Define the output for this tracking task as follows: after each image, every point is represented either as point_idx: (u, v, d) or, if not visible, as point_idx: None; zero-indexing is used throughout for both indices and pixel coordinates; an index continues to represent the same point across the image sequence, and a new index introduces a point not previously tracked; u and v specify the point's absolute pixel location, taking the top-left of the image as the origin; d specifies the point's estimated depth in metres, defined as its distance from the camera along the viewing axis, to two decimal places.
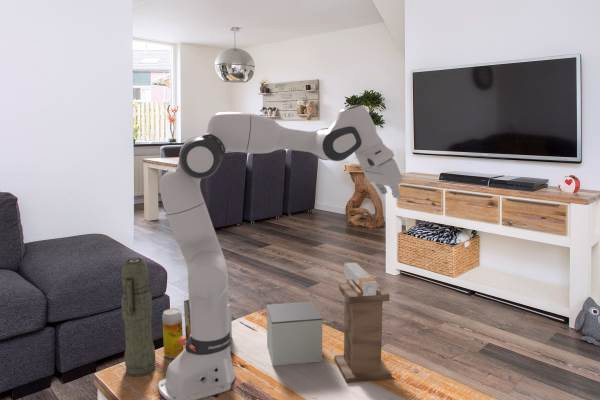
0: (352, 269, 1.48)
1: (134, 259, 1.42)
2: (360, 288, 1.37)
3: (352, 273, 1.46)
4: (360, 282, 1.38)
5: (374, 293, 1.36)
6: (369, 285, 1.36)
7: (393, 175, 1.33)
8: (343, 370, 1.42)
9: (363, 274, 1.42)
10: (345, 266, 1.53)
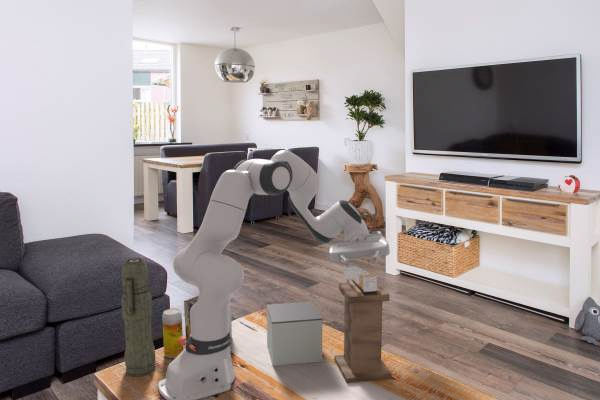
0: (352, 269, 1.48)
1: (134, 259, 1.42)
2: (361, 284, 1.38)
3: (352, 272, 1.46)
4: (360, 278, 1.38)
5: (375, 289, 1.36)
6: (369, 280, 1.36)
7: None
8: (343, 370, 1.42)
9: (363, 272, 1.43)
10: (344, 268, 1.54)
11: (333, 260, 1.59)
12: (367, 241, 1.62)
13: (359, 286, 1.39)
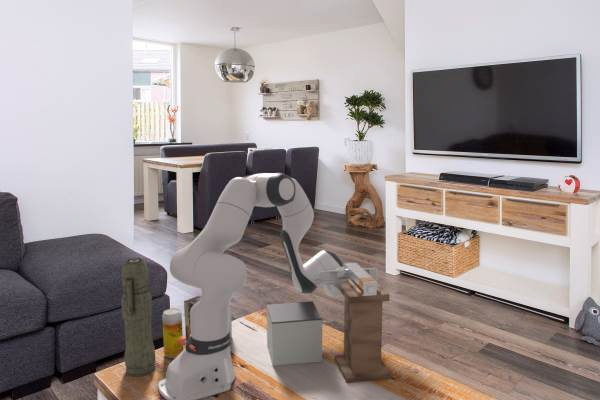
0: (352, 269, 1.48)
1: (134, 259, 1.42)
2: (361, 287, 1.37)
3: (352, 273, 1.46)
4: (360, 282, 1.38)
5: (374, 293, 1.36)
6: (369, 285, 1.36)
7: None
8: (343, 370, 1.42)
9: (364, 274, 1.42)
10: (345, 266, 1.53)
11: (324, 279, 1.53)
12: None
13: (359, 289, 1.39)
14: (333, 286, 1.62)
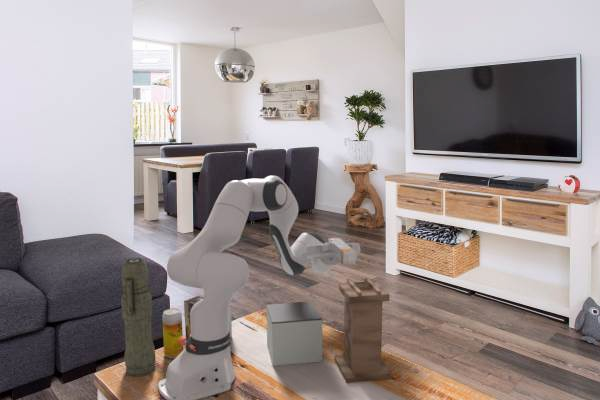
0: (335, 242, 1.62)
1: (134, 259, 1.42)
2: (342, 257, 1.51)
3: (335, 246, 1.60)
4: (341, 252, 1.52)
5: (354, 262, 1.50)
6: (349, 255, 1.50)
7: None
8: (343, 370, 1.42)
9: (345, 246, 1.56)
10: (329, 241, 1.67)
11: (309, 252, 1.67)
12: None
13: (340, 259, 1.53)
14: (319, 260, 1.76)
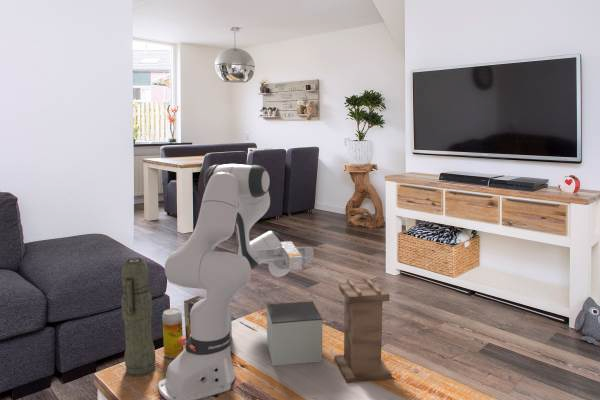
0: (285, 246, 1.59)
1: (134, 259, 1.42)
2: (288, 262, 1.48)
3: (284, 250, 1.57)
4: (288, 257, 1.49)
5: (300, 267, 1.47)
6: (295, 259, 1.47)
7: None
8: (343, 370, 1.42)
9: (293, 251, 1.53)
10: (280, 244, 1.64)
11: (261, 256, 1.64)
12: None
13: (287, 264, 1.50)
14: (273, 264, 1.73)
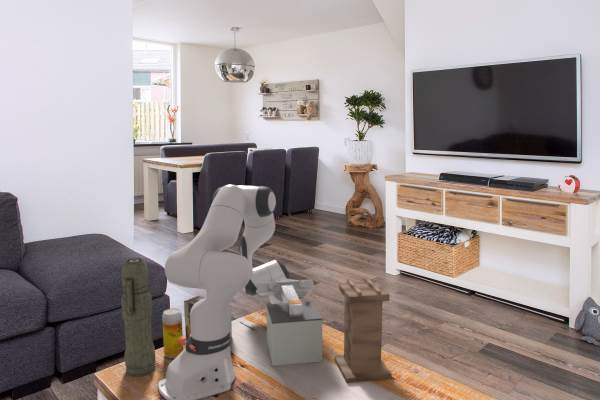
0: (285, 291, 1.62)
1: (134, 259, 1.42)
2: (288, 309, 1.51)
3: (284, 295, 1.59)
4: (288, 304, 1.51)
5: (300, 315, 1.50)
6: (295, 307, 1.49)
7: None
8: (343, 370, 1.42)
9: (293, 297, 1.56)
10: (281, 288, 1.67)
11: (261, 290, 1.66)
12: None
13: (287, 310, 1.53)
14: (273, 296, 1.75)
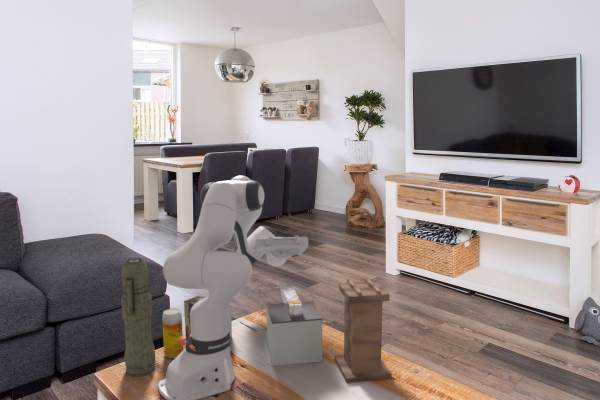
0: (285, 291, 1.62)
1: (134, 259, 1.42)
2: (288, 309, 1.51)
3: (284, 295, 1.59)
4: (288, 304, 1.51)
5: (300, 315, 1.50)
6: (295, 307, 1.49)
7: None
8: (343, 370, 1.42)
9: (293, 297, 1.56)
10: (281, 288, 1.67)
11: (258, 245, 1.76)
12: None
13: (287, 310, 1.53)
14: (270, 253, 1.84)
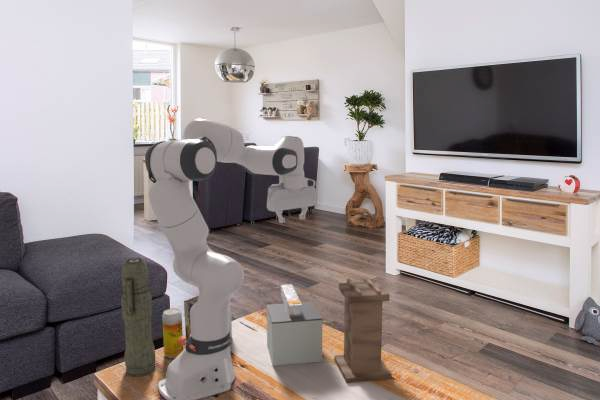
0: (285, 291, 1.62)
1: (134, 259, 1.42)
2: (288, 309, 1.51)
3: (284, 295, 1.59)
4: (288, 304, 1.51)
5: (300, 315, 1.50)
6: (295, 307, 1.49)
7: None
8: (343, 370, 1.42)
9: (293, 297, 1.56)
10: (281, 288, 1.67)
11: None
12: (302, 192, 1.67)
13: (287, 310, 1.53)
14: (279, 183, 1.65)
